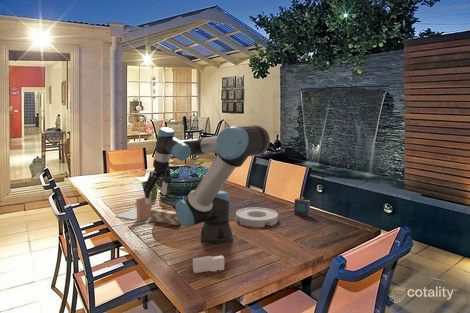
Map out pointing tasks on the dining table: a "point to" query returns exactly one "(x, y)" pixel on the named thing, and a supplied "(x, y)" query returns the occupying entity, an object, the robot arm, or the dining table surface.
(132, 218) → the mat
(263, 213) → the ashtray
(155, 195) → the plant pot
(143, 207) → the tile
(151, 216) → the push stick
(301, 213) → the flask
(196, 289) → the dining table surface
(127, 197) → the dining table surface
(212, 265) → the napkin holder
